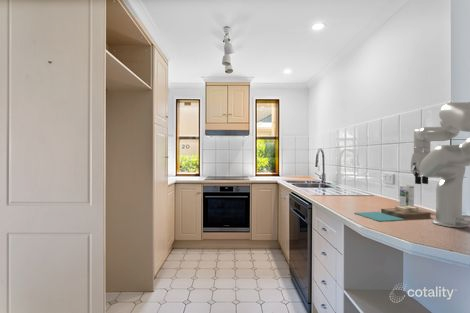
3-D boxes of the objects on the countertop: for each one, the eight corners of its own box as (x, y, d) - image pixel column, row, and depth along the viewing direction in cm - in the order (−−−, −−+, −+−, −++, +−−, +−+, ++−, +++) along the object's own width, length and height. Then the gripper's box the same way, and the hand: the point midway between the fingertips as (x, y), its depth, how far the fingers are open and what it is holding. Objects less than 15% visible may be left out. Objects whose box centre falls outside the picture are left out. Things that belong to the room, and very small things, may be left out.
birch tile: (408, 209, 146) (408, 205, 146) (418, 211, 140) (418, 207, 140) (395, 209, 143) (395, 206, 143) (404, 212, 138) (404, 208, 138)
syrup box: (398, 207, 163) (398, 184, 163) (405, 207, 165) (405, 184, 165) (407, 209, 157) (407, 185, 157) (414, 209, 159) (414, 185, 159)
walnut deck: (430, 217, 137) (430, 212, 137) (402, 219, 132) (402, 214, 132) (407, 211, 150) (407, 207, 150) (381, 213, 146) (381, 208, 146)
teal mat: (405, 220, 130) (405, 219, 130) (379, 221, 127) (379, 220, 127) (377, 212, 148) (377, 211, 148) (354, 213, 144) (354, 212, 144)
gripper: (427, 151, 149) (427, 183, 149) (403, 150, 146) (403, 183, 146) (440, 151, 142) (440, 184, 142) (415, 150, 138) (415, 184, 138)
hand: (421, 183), depth 144 cm, fingers open, 4 cm apart
